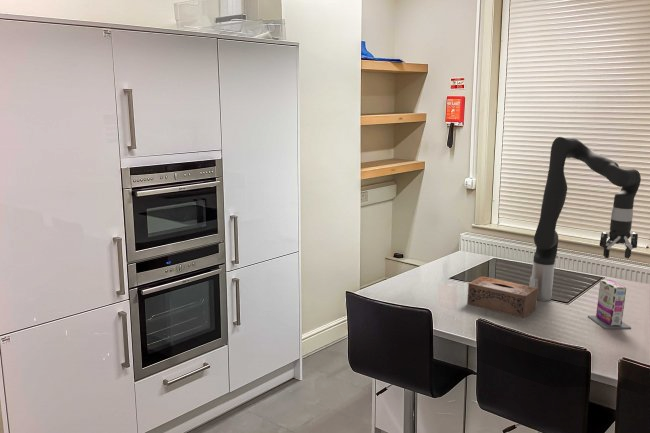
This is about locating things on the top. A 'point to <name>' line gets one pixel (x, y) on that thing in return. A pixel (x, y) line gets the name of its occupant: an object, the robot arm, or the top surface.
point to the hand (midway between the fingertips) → (616, 257)
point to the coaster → (605, 325)
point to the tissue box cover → (502, 296)
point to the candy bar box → (611, 302)
